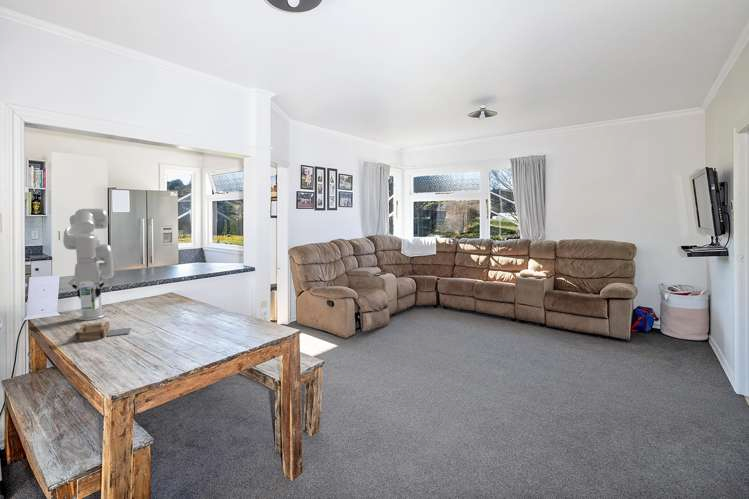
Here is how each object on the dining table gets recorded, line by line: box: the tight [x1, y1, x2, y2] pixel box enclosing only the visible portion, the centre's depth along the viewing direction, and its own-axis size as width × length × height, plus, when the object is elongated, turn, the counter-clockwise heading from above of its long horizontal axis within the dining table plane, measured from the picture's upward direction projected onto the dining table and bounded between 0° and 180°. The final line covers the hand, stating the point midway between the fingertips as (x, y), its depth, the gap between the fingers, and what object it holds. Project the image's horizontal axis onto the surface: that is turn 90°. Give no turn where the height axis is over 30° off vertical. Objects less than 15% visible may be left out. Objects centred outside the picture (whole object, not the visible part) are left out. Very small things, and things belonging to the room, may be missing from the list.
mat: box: [106, 327, 132, 337], centre depth 196 cm, size 10×9×1 cm
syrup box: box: [79, 281, 99, 312], centre depth 188 cm, size 6×6×14 cm
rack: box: [75, 321, 110, 343], centre depth 191 cm, size 16×11×4 cm
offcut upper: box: [86, 321, 103, 330], centre depth 195 cm, size 5×6×2 cm
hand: (89, 296), depth 188 cm, fingers closed on syrup box, 6 cm apart
